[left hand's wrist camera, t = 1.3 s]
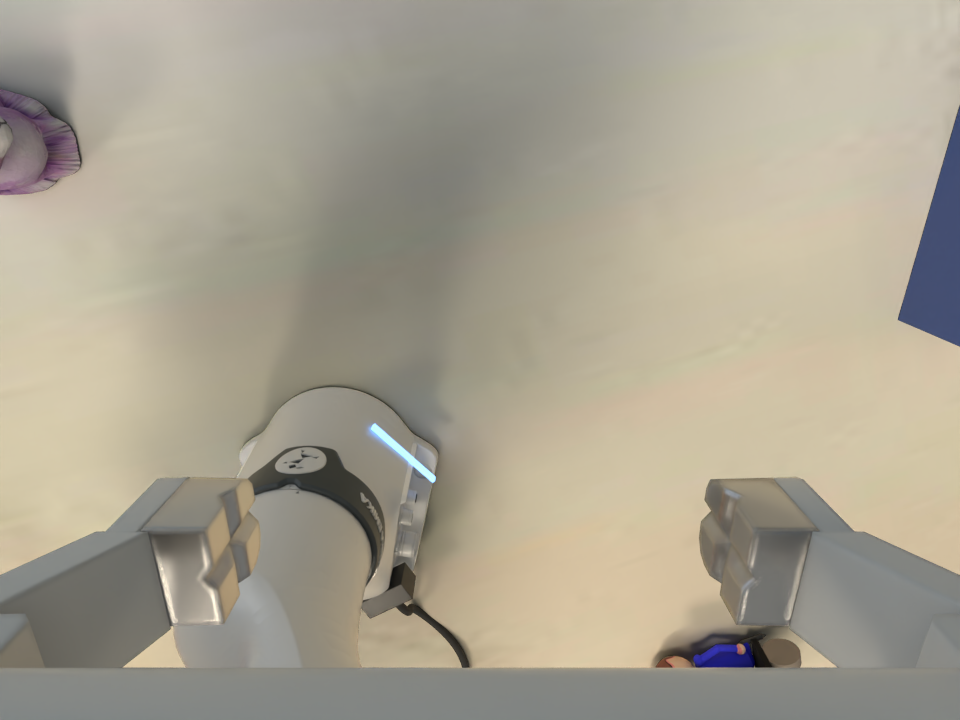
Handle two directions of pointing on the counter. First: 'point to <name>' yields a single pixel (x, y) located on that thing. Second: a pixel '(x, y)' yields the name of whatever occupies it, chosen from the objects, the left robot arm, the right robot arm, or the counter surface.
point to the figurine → (33, 146)
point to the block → (939, 257)
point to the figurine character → (742, 656)
